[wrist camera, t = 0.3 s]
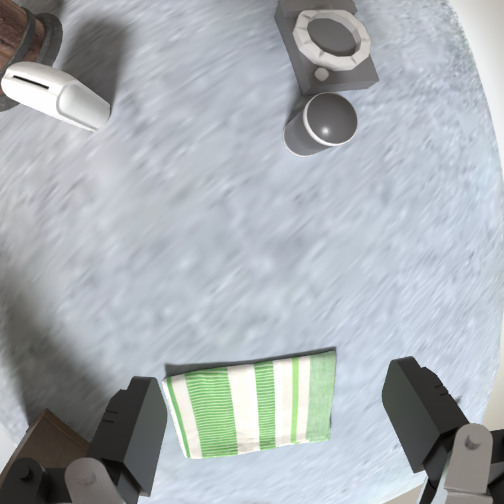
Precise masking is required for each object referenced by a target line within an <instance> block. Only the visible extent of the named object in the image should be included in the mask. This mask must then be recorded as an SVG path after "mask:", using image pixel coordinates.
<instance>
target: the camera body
mask: <svg viewBox="0 0 504 504" xmlns="http://www.w3.org/2000/svg"><path fill="white" fill-rule="evenodd" d="M356 12H357V9H356V7H355V5H354V3H353V1H352V0H280V3H279V6H278V9H277V12H276V14H275V17H274V18H275V20H276V23H277V25H278V28H279V31H280V33H281V36H282V38H283V41H284V44H285V46H286V49H287V52H288V55H289V57H290V60H291V63H292V66H293V69H294V72H295V75H296V77H297V80H298V83H299V87H300V90H301V93H302V96H307V95H313V94H320V93H324V92H337V91H346V90H356V89H367V88H369V87H370V86H372V85H373V84H375V83H376V82H378V81H379V78H378V75H377V72H376V70H375V67H374V64H373V62H372V59H371V57H370V54H369V51H370V44H371V40H370V38H369V36H368V34H367V31H366V29H365V27H364V25H363V24H362V23H361V22H359V21H358V20H357V19H356V18H355V17H354V16H353V15H354V14H355V13H356Z"/></svg>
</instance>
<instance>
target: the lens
mask: <svg viewBox="0 0 504 504" xmlns="http://www.w3.org/2000/svg"><path fill="white" fill-rule="evenodd" d="M357 127H358V118H357V114H356V111H355V109H354V107H353V106H352V104H351V103H350V102H349V101H348V100H347V99H346V98H344V97H343V96H341V95H339V94H336V93H332V92H324V93H320V94H318V95H316V96H314V97H313V98H312V99H311V100H310V101H309V102H308V103H307V105H306V106H305V107H304V108H303V109H302V110H301V111H300V112H299V113H298V114H297V115H296V116H295V117H294V118H293V119H292V120H291V121H290V122H289V123H288V124H287V125H286V126H285V128H284V130H283V135H282V137H283V142H284V145H285V147H286V148H287V149H288V150H289V151H290V152H291V153H292V154H294V155H296V156H299V157H308V156H311V155H314V154H315V153H318V152H320V151H323V150H325V149H328V148H330V147H333V146H338V145H341V144H344V143H346V142H348V141H349V140H351V139H352V138H353V136H354V135H355V133H356V131H357Z"/></svg>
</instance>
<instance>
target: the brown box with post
mask: <svg viewBox="0 0 504 504" xmlns="http://www.w3.org/2000/svg"><path fill="white" fill-rule="evenodd" d="M90 445H91V444H90V443H88V442H87V441H86V440H84V439H83V438H82V437H80V436H79V435H78V434H76V433H75V432H74V431H73V430H71V429H70V428H69V427H68V426H67V425H65V424H64V423H63V422H62V421H61V420H59V419H58V418H57V417H56V416H55V415H54V414H53V413H51V412H50V411H49V410H48V409H47V408H46V409H45V410H44V411H43V412H42V414H41V415H40V416H39V417H38V418H37V419H36V420H35V421H34V422H33V423H32V424H31V425H30V426H29V428H28V429H27V431H26V434H25V436H24V437H23V439H22V440H21V442H20V443H19V445H18V447H17V448H16V450H15V451H14V453H13V455H12V456H11V458H10V460H9V461H8V463H7V464H6V466H5V468H4V469H3V471H2V473H1V474H0V490H1V487H2V485H3V483H4V480H5V478H6V476H7V473H8V471H9V469H10V467H11V465H12V464H13V463H14V462H15V461H16V460H18V459H20V458H24V457H29V458H32V459H35V460H36V461H37V462H38V463H39V464H40V465H41V466H42V467H43V468H67V467H68V466H69V465H70V464H71V463H72V462H73V461H75V460H77V459H80V458H84V457H85V456H86V454H87V452H88V449H89V447H90Z"/></svg>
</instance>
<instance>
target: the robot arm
mask: <svg viewBox="0 0 504 504" xmlns="http://www.w3.org/2000/svg"><path fill="white" fill-rule="evenodd" d="M382 402H383V406H384V408H385V410H386V412H387V414H388V416H389V419H390V421H391V423H392V425H393V427H394V429H395V432H396V434H397V436H398V438H399V441H400V443H401V445H402V447H403V450H404V452H405V454H406V456H407V459H408V461H409V463H410V466H411V468H412V470H413V473H414V474H415V473H418V472H420V471H423V470H425V471H426V473H427V476H426V478H425V480H424V483H423V486H422V488H421V491H420V494H419V496H418V499H417V502H416V504H504V429H501V430H495V431H489V430H488V429H487V428H486V427H484V426H483V425H480V424H476V423H471V424H470V423H469V421H468V420H467V418H466V417H465V415H464V414H463V412H462V411H461V409H460V408H459V406H458V405H457V403H456V402H455V400H454V399H453V398H452V396H451V395H450V394H448V390H447V389H446V388H445V386H443V383H442V382H441V380H440V379H439V378H438V376H437V375H436V374H435V373H433V372H432V371H431V370H429V369H428V368H426V367H422V368H421V367H420V365H419V364H418V363H417V361H416V360H415V358H414V357H412V356H409V357H404V358H399V359H395V360H392V361H391V362H390V364H389V368H388V372H387V375H386V379H385V383H384V386H383V390H382ZM166 424H167V408H166V405H165V402H164V399H163V396H162V393H161V390H160V387H159V384H158V381H157V379H156V378H155V377H139V376H134V377H133V378H132V379H131V382H130V384H129V386H128V389H127V390H121V389H120V390H119V391H118V392H117V393H116V394H115V395H114V396H113V397H112V398H111V399H110V401H109V403H108V406H107V408H106V412H104V415H103V417H102V421H101V422H100V424H99V426H98V428H97V431H96V433H95V435H94V438H93V440H92V442H91V445H90V447H89V449H88V452H87V454H86V456H85V457H84V458H80V459H77V460H75V461H73V462H72V463H71V464H70V465H69V466H68V467H67V468H43V467H42V466H41V465H40V464H39V463H38V462H37V461H36V460H35V459H32V458H29V457H24V458H20V459H18V460H16V461H15V462H14V463H13V464H12V465H11V467H10V469H9V471H8V473H7V476H6V478H5V480H4V483H3V485H2V487H1V490H0V504H137V502H138V498H139V495H140V496H146V497H150V495H151V490H152V485H153V481H154V476H155V472H156V467H157V463H158V458H159V454H160V449H161V445H162V441H163V437H164V432H165V428H166Z"/></svg>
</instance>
